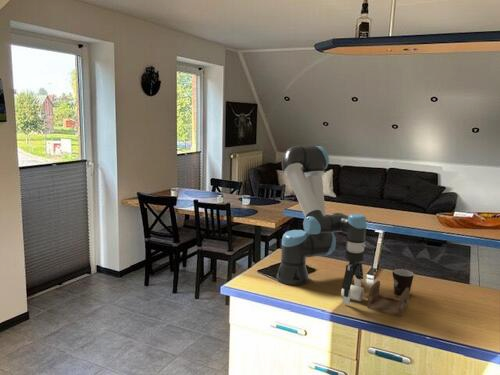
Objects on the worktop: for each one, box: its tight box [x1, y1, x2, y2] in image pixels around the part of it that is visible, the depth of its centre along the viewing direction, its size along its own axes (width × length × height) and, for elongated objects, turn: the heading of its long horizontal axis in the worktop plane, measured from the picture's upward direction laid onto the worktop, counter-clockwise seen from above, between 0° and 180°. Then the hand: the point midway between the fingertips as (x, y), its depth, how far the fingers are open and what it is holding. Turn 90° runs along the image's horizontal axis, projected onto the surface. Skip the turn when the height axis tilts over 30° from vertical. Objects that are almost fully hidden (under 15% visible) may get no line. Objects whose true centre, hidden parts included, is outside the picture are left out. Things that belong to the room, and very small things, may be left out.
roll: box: [340, 284, 365, 302], centre depth 182 cm, size 8×6×6 cm
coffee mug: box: [392, 268, 415, 297], centre depth 190 cm, size 12×9×10 cm
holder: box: [367, 280, 410, 318], centre depth 174 cm, size 14×12×8 cm
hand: (351, 298), depth 181 cm, fingers open, 13 cm apart
